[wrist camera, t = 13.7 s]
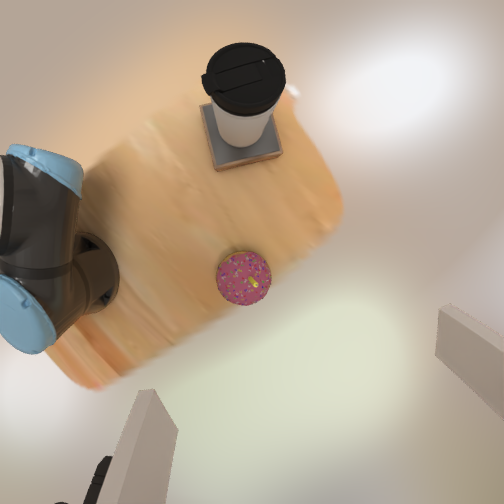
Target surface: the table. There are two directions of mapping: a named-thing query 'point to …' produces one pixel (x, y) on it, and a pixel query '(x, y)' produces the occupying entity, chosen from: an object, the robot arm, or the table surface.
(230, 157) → the walnut stand
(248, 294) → the cupcake
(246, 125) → the travel mug
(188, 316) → the table surface
